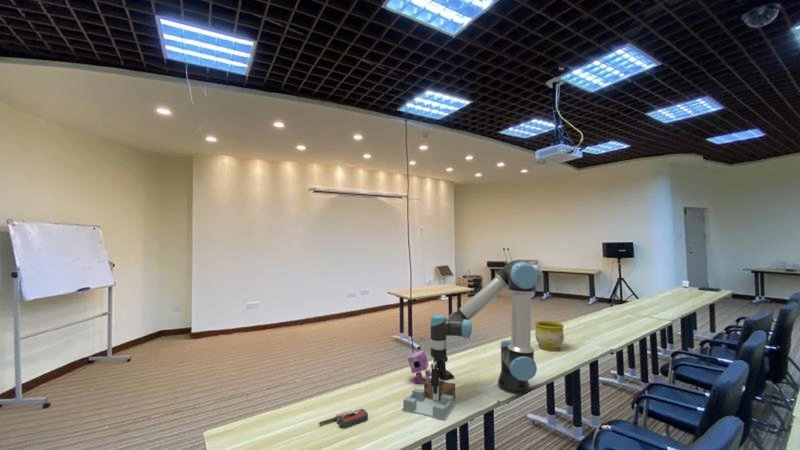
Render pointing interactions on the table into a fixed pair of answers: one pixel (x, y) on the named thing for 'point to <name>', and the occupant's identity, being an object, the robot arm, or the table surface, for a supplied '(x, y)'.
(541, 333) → the flowerpot
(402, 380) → the table surface
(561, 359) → the table surface
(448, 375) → the figurine
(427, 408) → the jig
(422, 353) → the toy
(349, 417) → the chainsaw
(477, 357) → the table surface
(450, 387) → the wooden block
